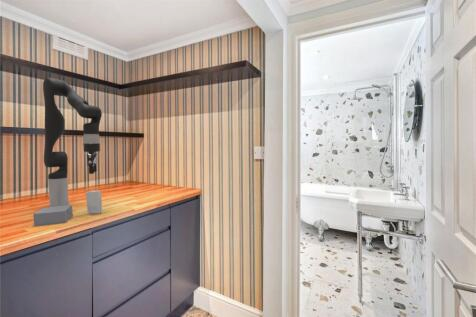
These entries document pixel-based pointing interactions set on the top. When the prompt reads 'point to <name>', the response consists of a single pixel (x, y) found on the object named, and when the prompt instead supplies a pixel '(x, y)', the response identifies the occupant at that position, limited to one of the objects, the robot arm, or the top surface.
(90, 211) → the skincare box
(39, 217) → the grey block
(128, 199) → the top surface
